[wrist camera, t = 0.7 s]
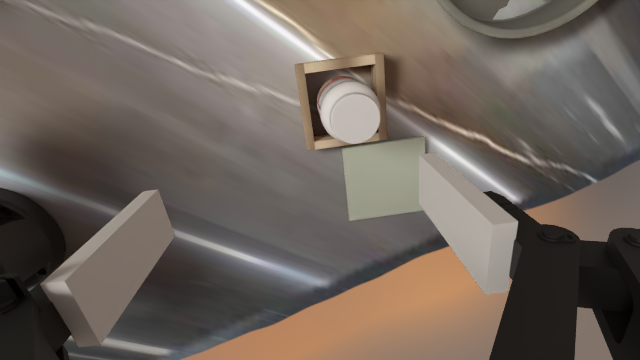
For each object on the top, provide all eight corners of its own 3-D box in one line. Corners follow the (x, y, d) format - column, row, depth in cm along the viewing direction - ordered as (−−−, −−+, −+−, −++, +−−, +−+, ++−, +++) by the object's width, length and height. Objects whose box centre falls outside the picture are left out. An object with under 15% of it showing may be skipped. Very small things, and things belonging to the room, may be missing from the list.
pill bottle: (365, 124, 40) (388, 149, 30) (317, 127, 40) (324, 154, 30) (365, 73, 38) (390, 83, 28) (314, 76, 38) (321, 87, 28)
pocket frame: (306, 144, 41) (307, 150, 39) (294, 64, 37) (294, 65, 35) (382, 134, 41) (387, 139, 39) (378, 52, 37) (383, 53, 35)
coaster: (348, 218, 46) (349, 220, 45) (341, 147, 41) (342, 148, 41) (423, 208, 46) (424, 210, 45) (423, 135, 42) (425, 137, 41)
